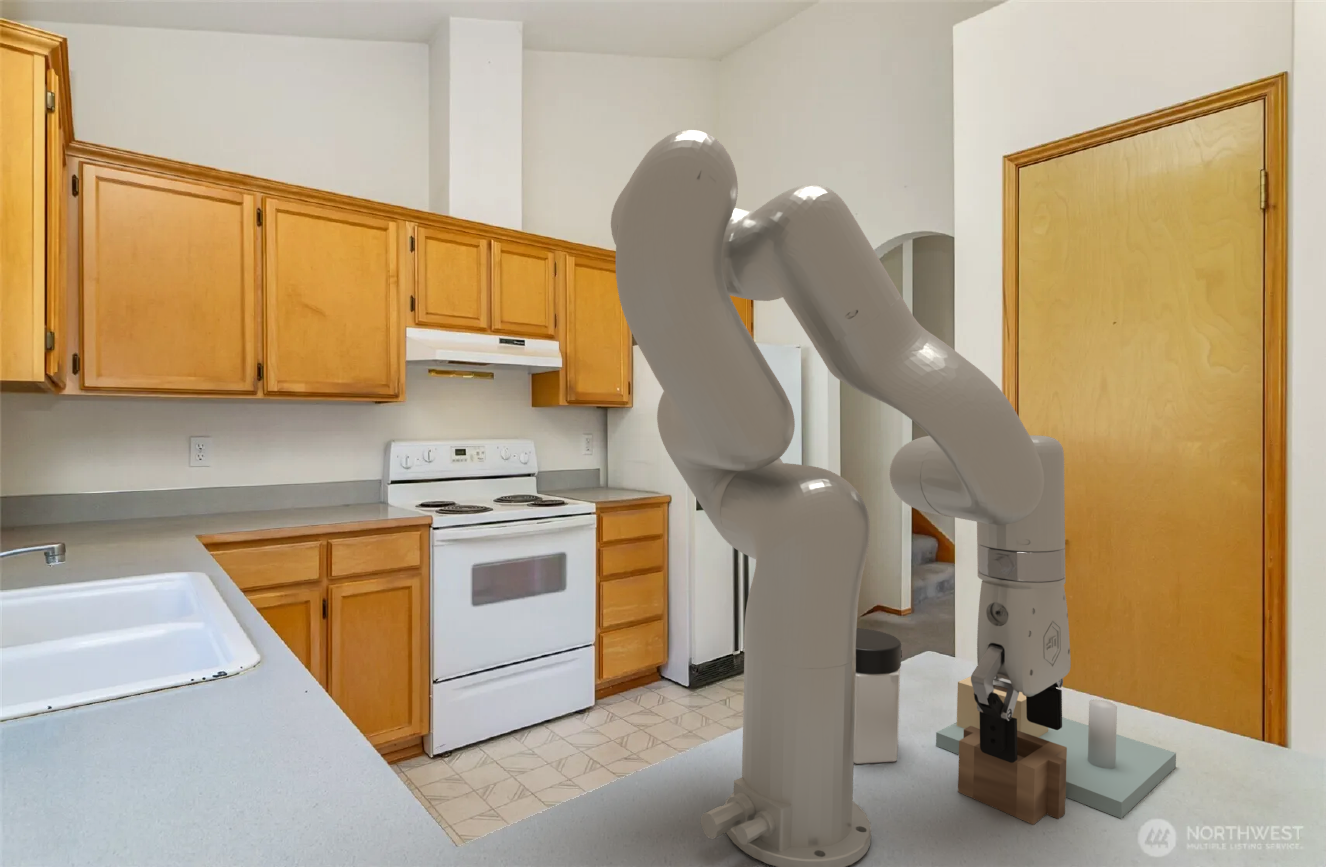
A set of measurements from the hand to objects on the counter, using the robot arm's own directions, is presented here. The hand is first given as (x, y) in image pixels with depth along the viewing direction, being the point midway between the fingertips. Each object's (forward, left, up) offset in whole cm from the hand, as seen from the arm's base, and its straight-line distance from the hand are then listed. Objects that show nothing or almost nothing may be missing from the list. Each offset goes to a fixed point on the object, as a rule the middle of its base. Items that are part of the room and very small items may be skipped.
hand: (1022, 740), depth 67 cm
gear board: (+11, +1, -5) cm, 12 cm away
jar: (-4, +15, -6) cm, 17 cm away
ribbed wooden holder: (-1, 0, -5) cm, 5 cm away
